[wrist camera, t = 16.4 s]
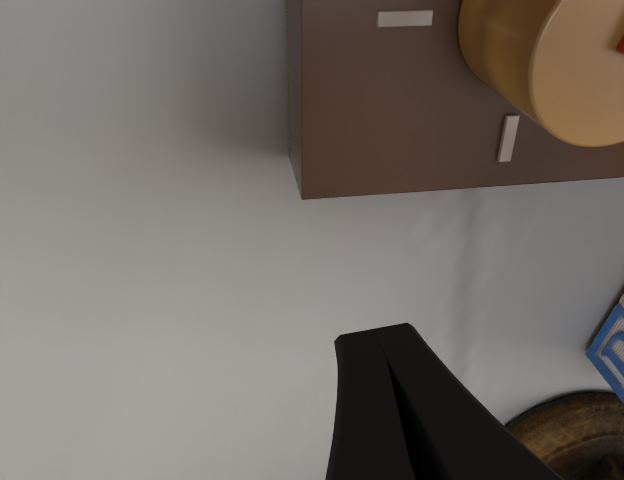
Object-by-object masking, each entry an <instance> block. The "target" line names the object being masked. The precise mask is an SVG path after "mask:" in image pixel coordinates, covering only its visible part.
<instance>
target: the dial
mask: <svg viewBox="0 0 624 480" xmlns="http://www.w3.org/2000/svg"><path fill="white" fill-rule="evenodd" d="M458 35H459V43H460V47H461V51H462V54H463V57H464V59H465V61H466V63H467V65H468V66H469V68H470V70H471V71H472V72H473V73H474V74H475V75H476V76H477V77H478V78H479V79H480V80H481V81H483V82H484V83H485V84H486V85H488V86H489V87H490V88H492V89H493V90H494V91H496V92H497V93H498V94H499V95H501V96H502V97H503V98H505V99H506V100H507V101H509V102H510V103H511V104H512V105H514V106H515V107H516V108H518V109H519V110H520V111H522V112H523V113H524V114H525V115H527V116H528V117H529V118H531V119H532V120H533V121H535V122H536V123H537V124H538V125H540V126H541V127H542V128H544V129H545V130H546V131H548V132H549V133H550V134H551V135H553V136H554V137H556V138H558V139H559V140H561V141H564V142H566V143H569V144H572V145H577V146H583V147H601V146H608V145H613V144H617V143H620V142H623V141H624V0H463V1H462V5H461V9H460V15H459V23H458Z"/></svg>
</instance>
